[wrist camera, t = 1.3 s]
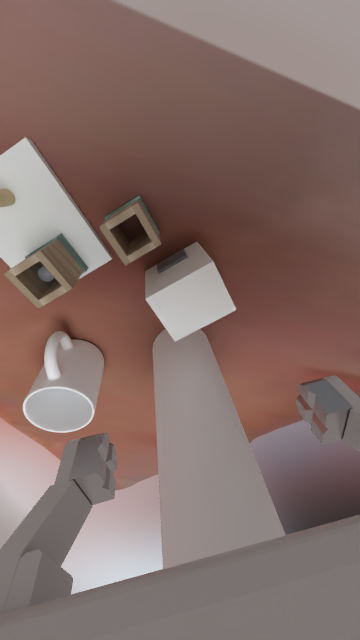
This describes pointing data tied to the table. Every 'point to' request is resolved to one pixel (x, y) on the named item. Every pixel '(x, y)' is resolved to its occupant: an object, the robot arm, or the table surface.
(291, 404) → the table surface
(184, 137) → the table surface
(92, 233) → the pin board
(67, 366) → the mug
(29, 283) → the sleeve seated
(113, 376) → the table surface
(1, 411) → the table surface
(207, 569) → the robot arm
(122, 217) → the sleeve
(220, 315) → the white box
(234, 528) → the cylinder container
